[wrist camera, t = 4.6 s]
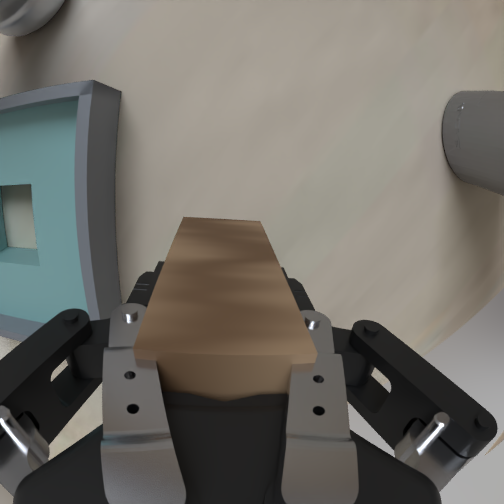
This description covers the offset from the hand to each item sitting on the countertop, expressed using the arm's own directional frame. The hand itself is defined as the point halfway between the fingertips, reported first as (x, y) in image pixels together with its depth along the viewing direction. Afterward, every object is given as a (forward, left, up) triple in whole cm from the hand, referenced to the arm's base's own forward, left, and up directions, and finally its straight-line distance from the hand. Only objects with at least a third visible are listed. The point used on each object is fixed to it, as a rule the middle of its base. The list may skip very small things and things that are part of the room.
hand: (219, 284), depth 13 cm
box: (+16, 0, -9) cm, 18 cm away
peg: (0, 0, -3) cm, 3 cm away
